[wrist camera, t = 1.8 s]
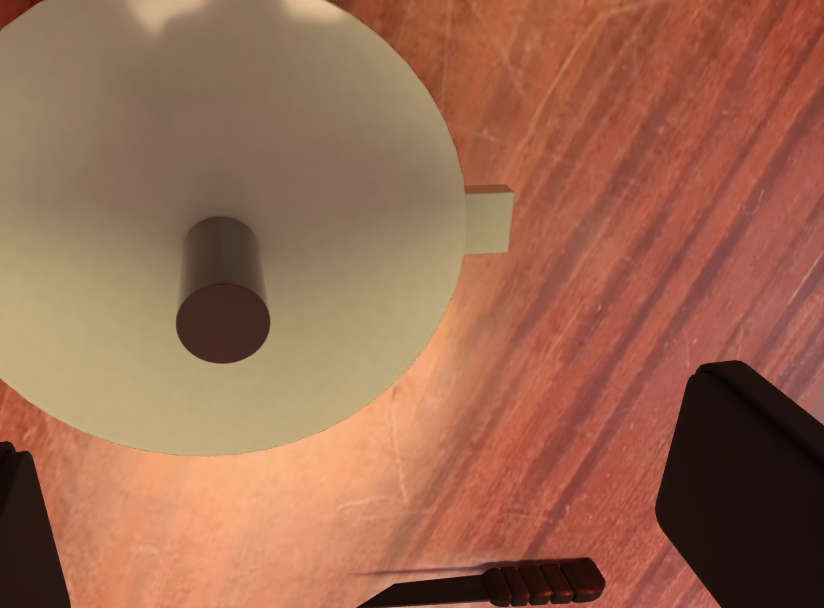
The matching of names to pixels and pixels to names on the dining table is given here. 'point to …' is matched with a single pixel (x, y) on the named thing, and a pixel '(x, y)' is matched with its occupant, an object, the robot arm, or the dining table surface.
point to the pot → (488, 218)
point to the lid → (217, 219)
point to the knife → (500, 587)
